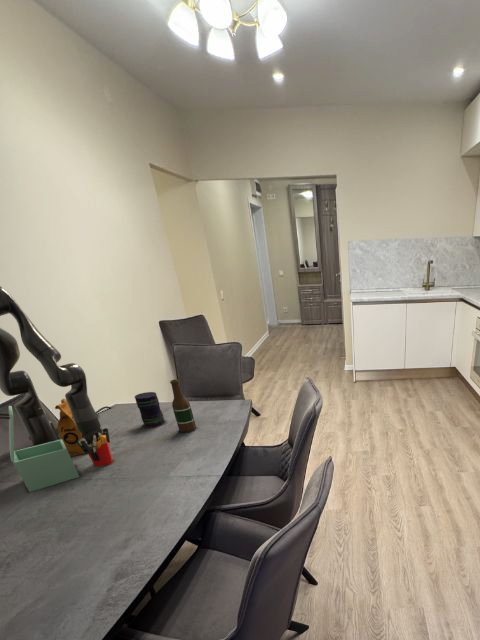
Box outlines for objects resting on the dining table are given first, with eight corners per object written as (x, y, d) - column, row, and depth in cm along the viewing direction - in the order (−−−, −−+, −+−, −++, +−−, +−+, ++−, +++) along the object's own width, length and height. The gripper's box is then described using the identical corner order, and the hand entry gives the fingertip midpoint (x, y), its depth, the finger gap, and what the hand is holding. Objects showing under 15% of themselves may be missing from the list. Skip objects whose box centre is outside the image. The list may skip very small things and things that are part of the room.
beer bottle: (199, 427, 190) (186, 378, 178) (188, 433, 184) (174, 383, 172) (187, 425, 193) (173, 377, 181) (175, 431, 186) (160, 382, 174)
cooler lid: (11, 406, 139) (-10, 404, 135) (13, 414, 131) (-10, 413, 127) (12, 450, 144) (-9, 450, 140) (14, 461, 135) (-8, 461, 131)
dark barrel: (169, 421, 199) (160, 393, 191) (153, 428, 191) (143, 399, 184) (155, 419, 203) (146, 391, 195) (139, 426, 195) (129, 397, 188)
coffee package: (64, 457, 166) (41, 408, 155) (73, 446, 176) (52, 399, 165) (90, 453, 168) (69, 404, 157) (98, 442, 178) (78, 396, 167)
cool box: (74, 465, 158) (61, 439, 152) (79, 476, 150) (66, 448, 144) (26, 479, 150) (11, 451, 144) (29, 492, 141) (13, 462, 135)
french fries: (91, 467, 156) (79, 439, 151) (94, 463, 160) (82, 436, 154) (115, 463, 159) (104, 436, 153) (116, 459, 162) (106, 432, 156)
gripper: (91, 411, 156) (106, 449, 165) (61, 424, 144) (80, 465, 152) (107, 411, 155) (122, 450, 163) (79, 424, 143) (97, 466, 151)
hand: (101, 457), depth 158 cm, fingers closed on french fries, 4 cm apart
